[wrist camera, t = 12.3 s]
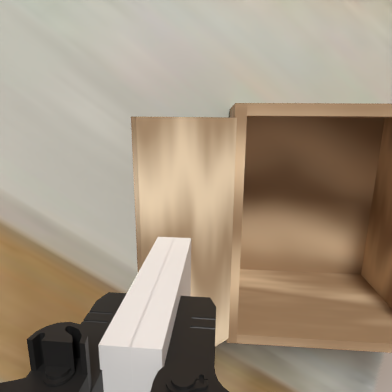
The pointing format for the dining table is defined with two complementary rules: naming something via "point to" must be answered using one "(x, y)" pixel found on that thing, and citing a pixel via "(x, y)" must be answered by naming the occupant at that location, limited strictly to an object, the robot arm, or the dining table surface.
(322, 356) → the dining table surface
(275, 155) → the carton
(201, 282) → the flap
